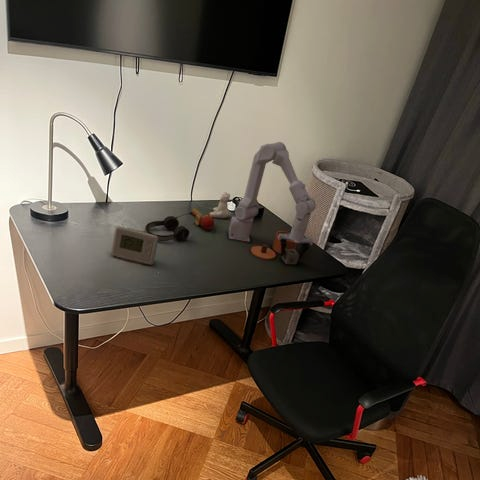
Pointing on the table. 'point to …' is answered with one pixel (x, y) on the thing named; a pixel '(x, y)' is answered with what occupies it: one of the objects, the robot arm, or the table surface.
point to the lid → (263, 252)
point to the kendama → (203, 219)
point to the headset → (169, 228)
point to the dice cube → (290, 256)
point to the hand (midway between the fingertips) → (290, 256)
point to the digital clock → (134, 245)
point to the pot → (277, 243)
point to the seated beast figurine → (221, 207)
